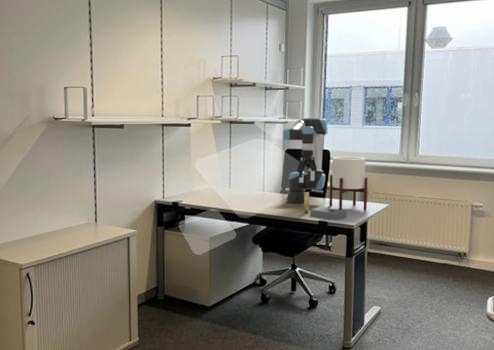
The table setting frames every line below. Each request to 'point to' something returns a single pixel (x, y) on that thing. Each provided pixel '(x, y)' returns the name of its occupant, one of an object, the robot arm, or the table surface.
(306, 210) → the brass peg
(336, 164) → the plant pot with stand
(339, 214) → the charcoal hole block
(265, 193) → the table surface
